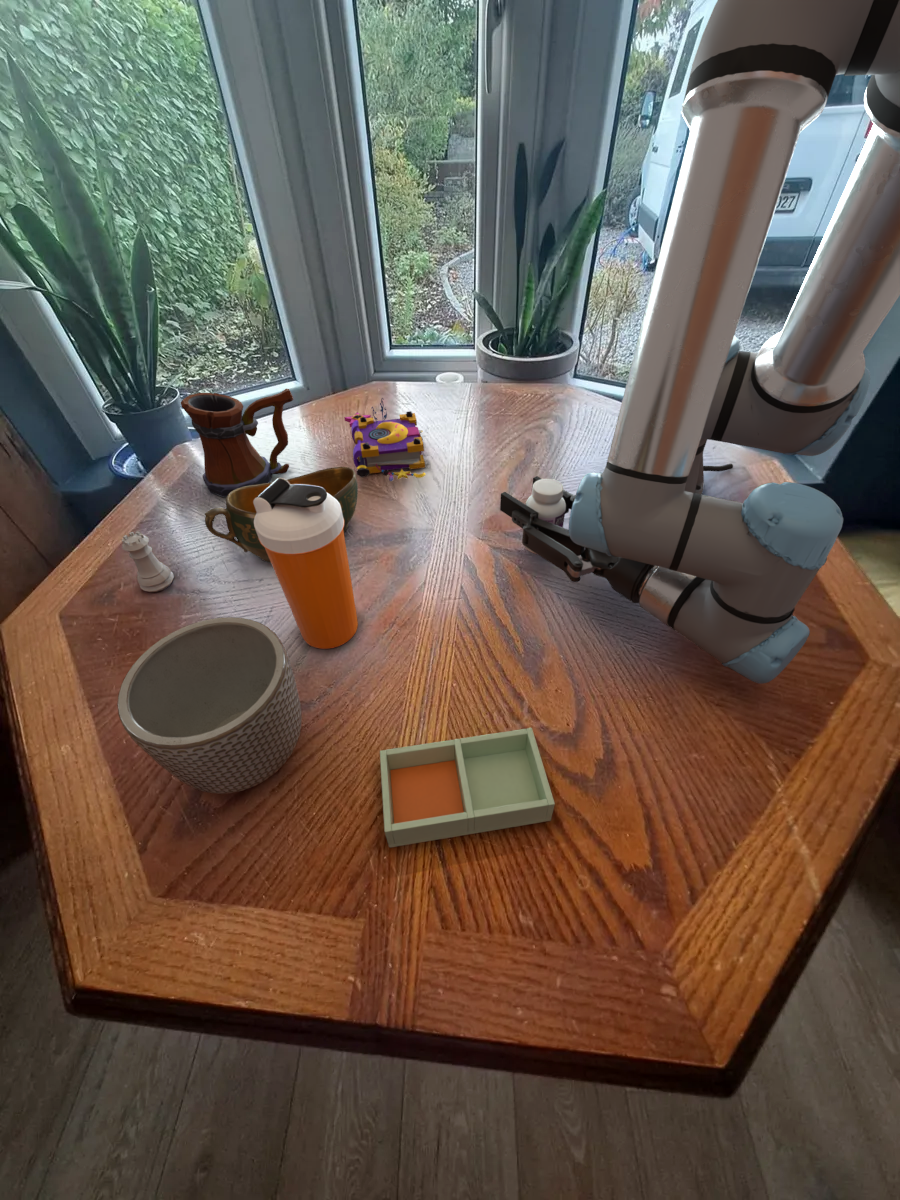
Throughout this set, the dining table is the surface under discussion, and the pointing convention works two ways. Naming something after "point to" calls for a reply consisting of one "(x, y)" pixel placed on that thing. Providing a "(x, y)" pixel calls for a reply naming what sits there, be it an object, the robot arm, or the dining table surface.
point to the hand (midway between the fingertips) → (518, 493)
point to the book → (386, 444)
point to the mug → (235, 439)
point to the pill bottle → (548, 502)
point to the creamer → (241, 499)
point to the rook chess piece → (147, 563)
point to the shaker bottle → (309, 559)
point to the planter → (214, 704)
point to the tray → (463, 787)
